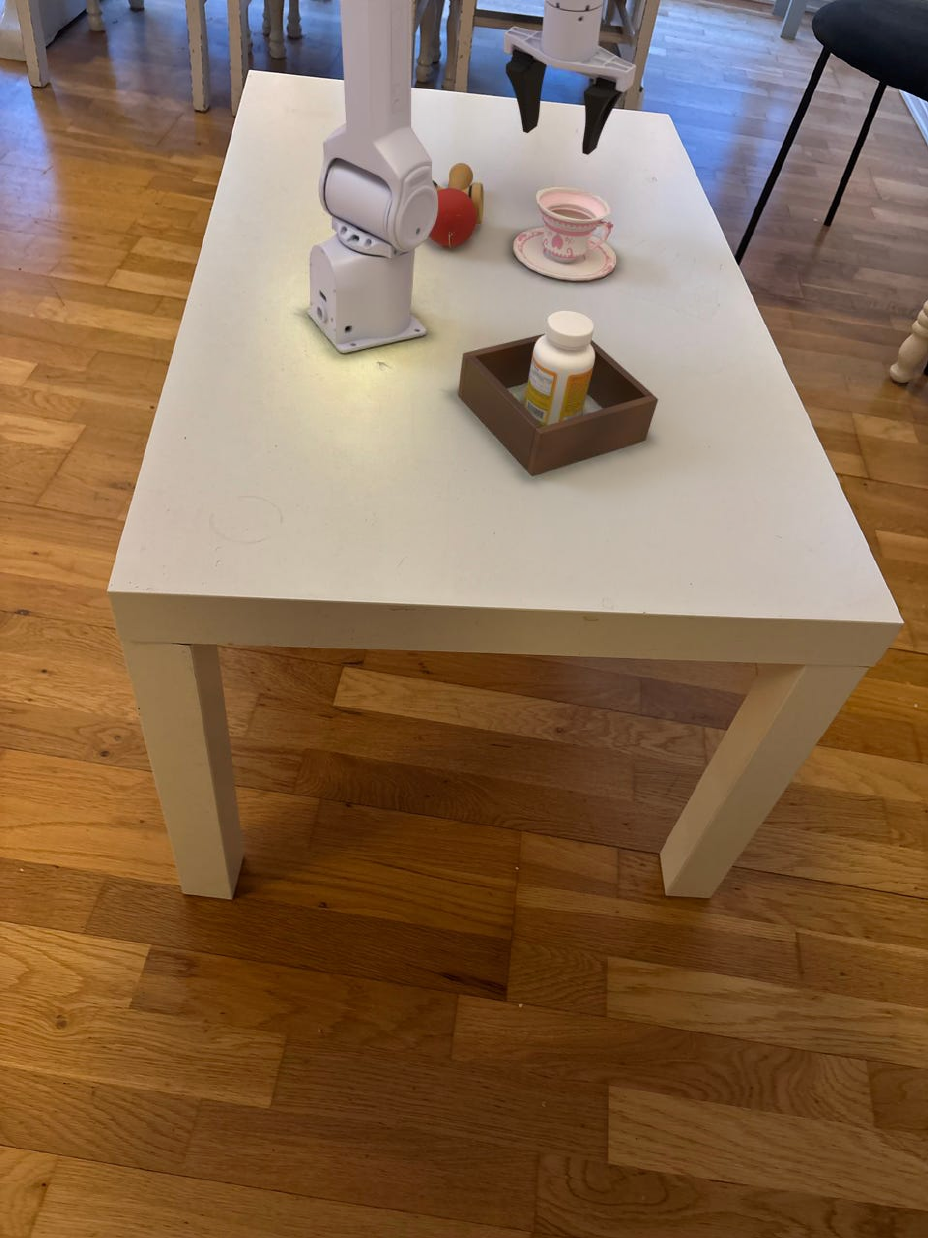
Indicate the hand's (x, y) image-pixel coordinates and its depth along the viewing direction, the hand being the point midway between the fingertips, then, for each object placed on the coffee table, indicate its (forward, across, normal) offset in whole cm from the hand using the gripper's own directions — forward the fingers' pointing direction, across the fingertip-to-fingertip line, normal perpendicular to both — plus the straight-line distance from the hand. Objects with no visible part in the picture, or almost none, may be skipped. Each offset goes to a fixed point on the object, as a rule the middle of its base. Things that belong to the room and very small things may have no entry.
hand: (559, 139), depth 100 cm
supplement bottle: (+7, -19, +32) cm, 38 cm away
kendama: (+10, +10, +7) cm, 15 cm away
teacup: (+10, -5, +5) cm, 12 cm away
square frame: (+6, -19, +32) cm, 38 cm away
